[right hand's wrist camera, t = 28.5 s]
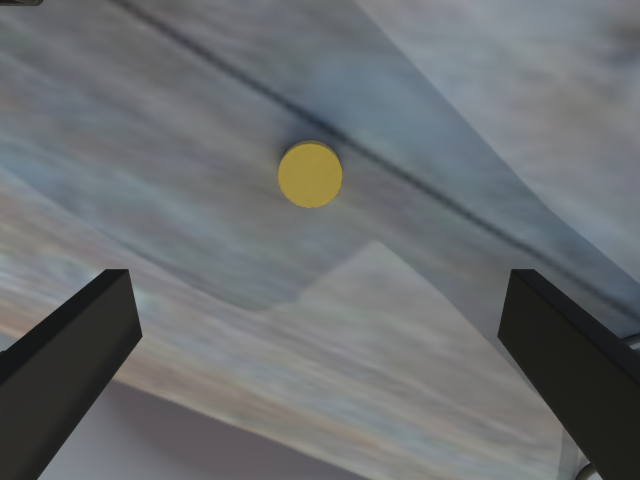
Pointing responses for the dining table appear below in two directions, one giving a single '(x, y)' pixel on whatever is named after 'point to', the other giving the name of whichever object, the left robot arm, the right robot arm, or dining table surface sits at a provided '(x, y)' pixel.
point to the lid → (310, 174)
